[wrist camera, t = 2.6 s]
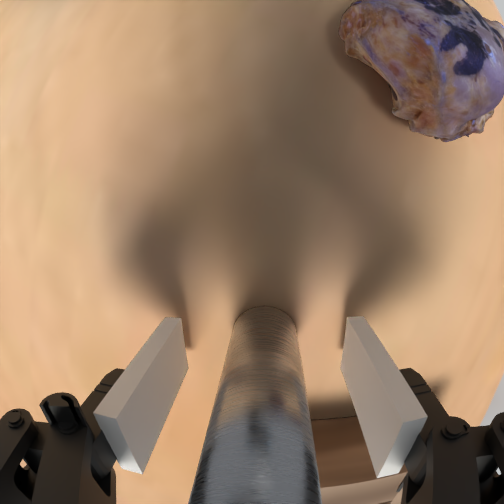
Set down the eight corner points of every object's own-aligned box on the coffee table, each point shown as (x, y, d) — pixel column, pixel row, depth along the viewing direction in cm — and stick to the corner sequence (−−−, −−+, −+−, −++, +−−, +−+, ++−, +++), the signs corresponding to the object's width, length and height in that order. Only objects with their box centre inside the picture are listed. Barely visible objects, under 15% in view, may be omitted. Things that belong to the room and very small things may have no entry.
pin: (231, 306, 13) (166, 510, 3) (297, 305, 13) (338, 516, 3) (234, 360, 14) (194, 550, 4) (294, 360, 13) (314, 553, 4)
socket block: (247, 421, 15) (239, 489, 10) (433, 401, 14) (465, 451, 9) (252, 504, 17) (248, 549, 12) (386, 491, 16) (398, 531, 11)
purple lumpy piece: (466, 11, 9) (516, -26, 3) (519, 119, 10) (587, 109, 4) (303, 24, 10) (319, -61, 4) (373, 166, 11) (453, 153, 6)
